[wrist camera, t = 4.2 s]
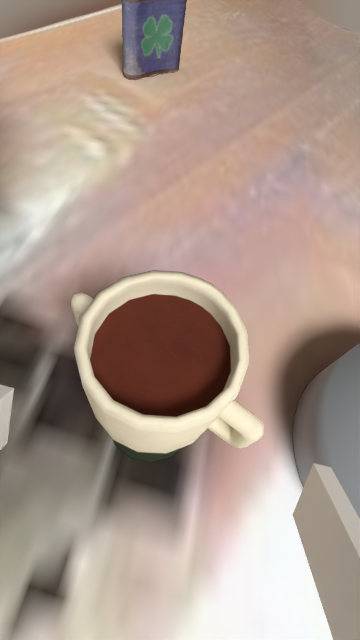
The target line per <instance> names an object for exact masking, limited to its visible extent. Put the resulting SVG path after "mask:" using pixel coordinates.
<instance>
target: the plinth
mask: <svg viewBox="0 0 360 640" xmlns="http://www.w3.org/2000/svg"><path fill="white" fill-rule="evenodd" d="M293 446H294V455H295V460H296V464H297V469H298V473H299V476H300V478H301V481H302V484H303V487H304V485H305V483H306V480H307V478H308V475H309V473H310V470H311V468H312V465H313V463H315V464H319V465H323V466H327V467H331V468H332V470H333V472H334V474H335V475H336V477H337V479H338V481H339V483H340V484H341V486H342V488H343V490H344V492H345V493H346V495H347V497H348V499H349V501H350V502H351V504H352V506H353V508H354V510H355V511H356V513H357V515H358V517H359V519H360V343H359V344H357V345H356V346H355V347H353V348H352V349H351V350H349V351H348V352H347V353H345V354H344V355H343V356H341V357H340V358H338V359H337V360H336V361H334V362H333V363H332V364H330V365H329V366H328V367H326V368H325V369H324V370H322V371H321V372H320V373H318V374H317V375H316V376H315V377H314V378H313V379H312V380H311V381H310V382H309V384H308V385H307V387H306V388H305V390H304V391H303V393H302V396H301V398H300V400H299V402H298V405H297V409H296V412H295V418H294V425H293Z"/></svg>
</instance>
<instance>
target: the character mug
mask: <svg viewBox="0 0 360 640" xmlns="http://www.w3.org/2000/svg"><path fill="white" fill-rule="evenodd" d="M71 308H72V311H73V315H74V318H75V321H76V324H77V326H78V332H77V336H76V341H75V346H74V352H75V357H76V361H77V365H78V369H79V374H80V378H81V382H82V386H83V388H84V391H85V393H86V396H87V398H88V400H89V403H90V405H91V407H92V410H93V412H94V414H95V417H96V419H97V420H98V421H99V422H100V424H101V425H102V426H103V427H104V429H105V430H106V431H107V432H108V434H109V435H110V436H111V437H112V439H113V441H114V443H115V445H116V446H117V447H118V448H119V449H120V450H122V451H123V452H124V453H125V454H127V455H128V456H129V457H130V458H131V459H136V460H141V461H147V462H156V461H159V460H162V459H166V458H169V457H172V456H174V455H175V454H176V453H177V452H178V451H179V450H180V449H181V448H182V447H184V446H187V445H190V444H192V443H193V442H194V441H195V440H196V439H197V438H198V437H199V436H200V435H201V434H202V433H203V432H204V431H206V430H207V429H209V430H211V431H212V432H213V433H215V434H216V435H217V436H219V437H220V438H221V439H223V440H224V441H225V442H226V443H228V444H229V445H231V446H233V447H236V448H239V449H243V448H245V447H247V446H248V445H250V444H252V443H254V442H255V441H257V440H258V439H260V438H261V437H263V426H264V424H263V423H262V422H261V421H260V420H259V419H258V418H257V417H256V416H255V415H254V414H253V413H251V412H250V411H248V410H247V409H246V408H244V407H243V406H242V405H240V404H239V403H237V402H236V401H235V400H234V399H235V398H236V397H237V395H238V393H239V390H240V387H241V384H242V381H243V379H244V376H245V373H246V370H247V367H248V364H249V351H248V334H247V331H246V328H245V326H244V324H243V322H242V319H241V317H240V315H239V313H238V310H237V308H236V307H235V306H234V305H233V304H232V302H231V301H230V300H229V299H228V298H227V297H226V296H225V294H224V293H223V292H221V291H220V290H219V289H217V288H216V287H215V286H214V285H212V284H211V283H209V282H207V281H205V280H203V279H201V278H198V277H195V276H192V275H189V274H186V273H183V272H174V271H158V270H153V271H148V272H144V273H140V274H135V275H131V276H127V277H124V278H122V279H120V280H119V281H117V282H115V283H114V284H112V285H110V286H109V287H107V288H105V289H104V290H102V291H100V292H99V293H98V294H97V295H96V297H95V298H94V299H93V298H92V297H90V296H88V295H86V294H84V293H82V292H81V293H76V294H74V295H73V298H72V301H71Z"/></svg>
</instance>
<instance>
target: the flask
mask: <svg viewBox="0 0 360 640" xmlns="http://www.w3.org/2000/svg"><path fill="white" fill-rule="evenodd" d="M186 1H187V0H122V37H123V73H124V76H125V77H126V78H127V79H141V77H142V78H144V77H153V76H157V74H162V75H163V74H164V73H170V72H177V71H178V70H179V62H180V53H181V44H182V36H183V26H184V17H185V10H186Z"/></svg>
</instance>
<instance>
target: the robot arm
mask: <svg viewBox="0 0 360 640" xmlns="http://www.w3.org/2000/svg"><path fill="white" fill-rule="evenodd" d="M13 393H14V388H12V387H8V386H4V385H0V450H1V449H2V448H3V447H4V446H5V445H6V444H7V442H8V434H9V426H10V417H11V409H12V401H13ZM293 517H294V520H295V523H296V526H297V529H298V532H299V535H300V538H301V541H302V544H303V547H304V550H305V554H306V557H307V560H308V563H309V566H310V569H311V572H312V575H313V578H314V581H315V584H316V587H317V590H318V594H319V597H320V600H321V603H322V606H323V609H324V612H325V615H326V618H327V621H328V624H329V627H330V630H331V634H332V637H333V640H360V519H359V517H358V515H357V513H356V511H355V510H354V508H353V506H352V504H351V502H350V501H349V499H348V497H347V495H346V493H345V492H344V490H343V488H342V486H341V484H340V483H339V481H338V479H337V477H336V475H335V474H334V472H333V470H332V468H331V467H327V466H323V465H319V464H315V463H313V465H312V468H311V470H310V473H309V475H308V478H307V480H306V483H305V485H304V488H303V491H302V493H301V496H300V498H299V501H298V503H297V506H296V508H295V511H294V513H293Z"/></svg>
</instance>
